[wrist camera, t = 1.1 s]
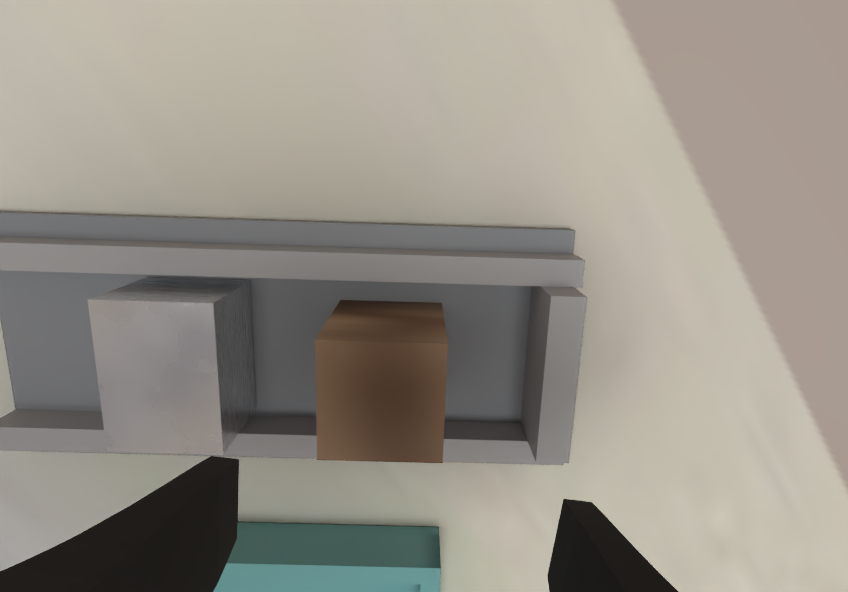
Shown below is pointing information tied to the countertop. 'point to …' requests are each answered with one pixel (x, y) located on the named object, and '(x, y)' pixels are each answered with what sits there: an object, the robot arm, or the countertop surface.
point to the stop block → (381, 382)
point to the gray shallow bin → (303, 321)
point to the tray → (332, 559)
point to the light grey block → (174, 364)
